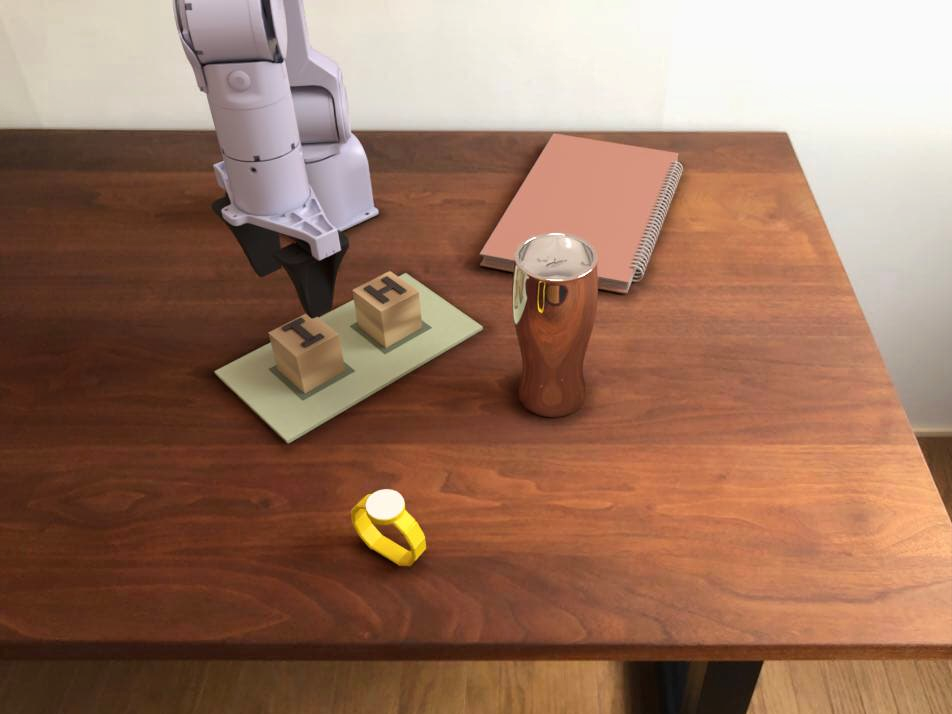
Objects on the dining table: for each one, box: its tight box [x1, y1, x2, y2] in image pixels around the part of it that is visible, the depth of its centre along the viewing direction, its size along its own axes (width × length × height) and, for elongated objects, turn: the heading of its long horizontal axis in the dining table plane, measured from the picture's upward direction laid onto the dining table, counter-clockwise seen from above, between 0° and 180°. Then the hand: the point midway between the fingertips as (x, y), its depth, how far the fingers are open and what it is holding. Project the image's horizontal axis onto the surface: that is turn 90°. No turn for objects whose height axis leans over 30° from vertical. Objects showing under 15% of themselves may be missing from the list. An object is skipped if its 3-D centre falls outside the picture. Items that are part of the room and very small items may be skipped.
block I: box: [267, 313, 345, 393], centre depth 80 cm, size 4×4×5 cm
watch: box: [350, 488, 427, 567], centre depth 66 cm, size 6×3×6 cm, turn 58°
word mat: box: [214, 272, 484, 444], centre depth 84 cm, size 22×12×1 cm, turn 134°
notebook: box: [479, 133, 684, 295], centre depth 101 cm, size 27×17×2 cm, turn 163°
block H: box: [351, 270, 422, 348], centre depth 84 cm, size 4×4×5 cm
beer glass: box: [511, 232, 599, 418], centre depth 75 cm, size 7×7×15 cm
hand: (293, 291), depth 75 cm, fingers open, 7 cm apart
